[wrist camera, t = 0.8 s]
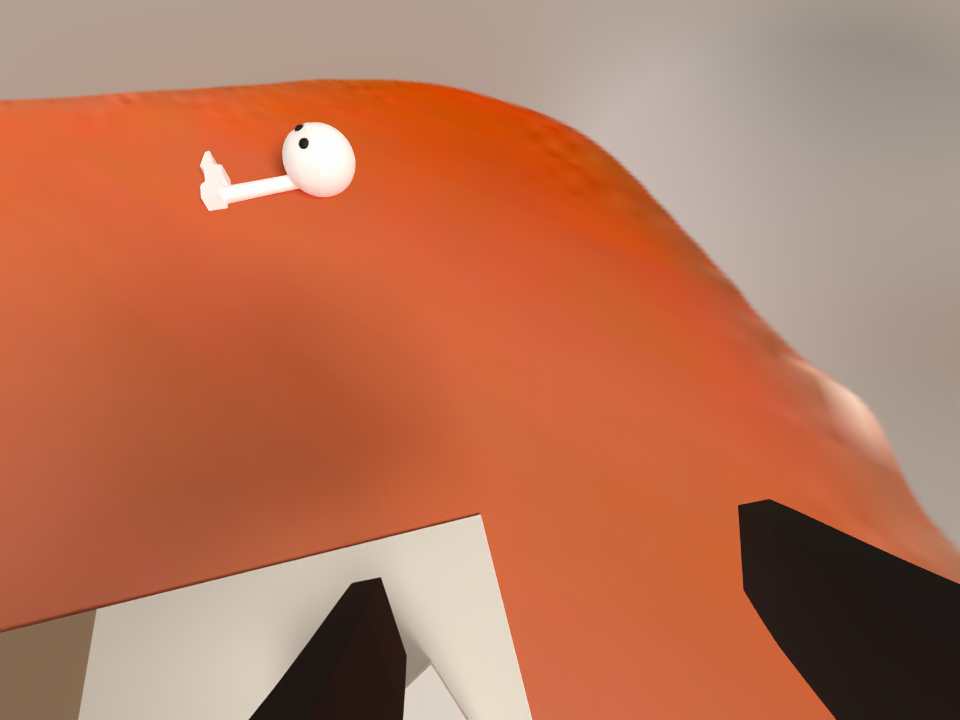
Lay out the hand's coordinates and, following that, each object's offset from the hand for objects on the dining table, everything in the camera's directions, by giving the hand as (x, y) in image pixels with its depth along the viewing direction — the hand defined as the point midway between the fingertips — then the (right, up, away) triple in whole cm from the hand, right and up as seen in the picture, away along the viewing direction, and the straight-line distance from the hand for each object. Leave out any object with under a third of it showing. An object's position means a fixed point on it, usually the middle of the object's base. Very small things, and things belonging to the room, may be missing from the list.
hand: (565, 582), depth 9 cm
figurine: (-18, +19, +29) cm, 39 cm away
